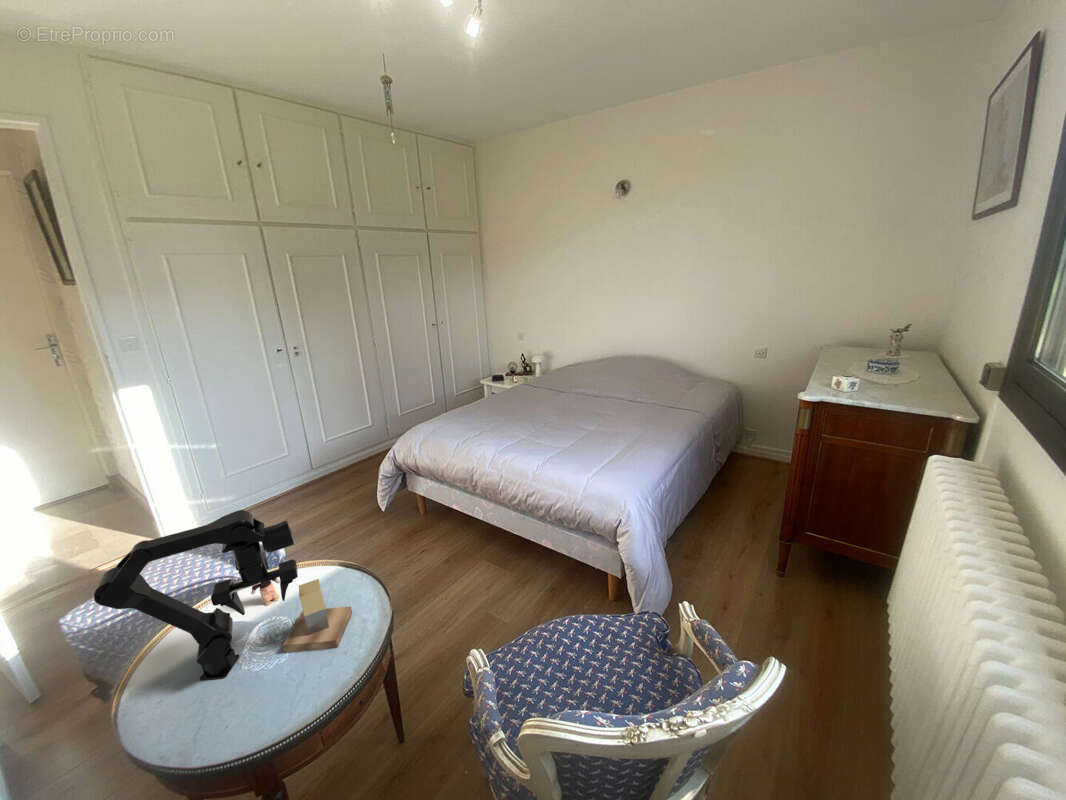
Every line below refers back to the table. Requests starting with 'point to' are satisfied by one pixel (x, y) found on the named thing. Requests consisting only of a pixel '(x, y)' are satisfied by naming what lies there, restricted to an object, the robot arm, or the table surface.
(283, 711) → the table surface
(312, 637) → the walnut plinth
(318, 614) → the yellow grey tall block
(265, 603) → the grandmother figurine
